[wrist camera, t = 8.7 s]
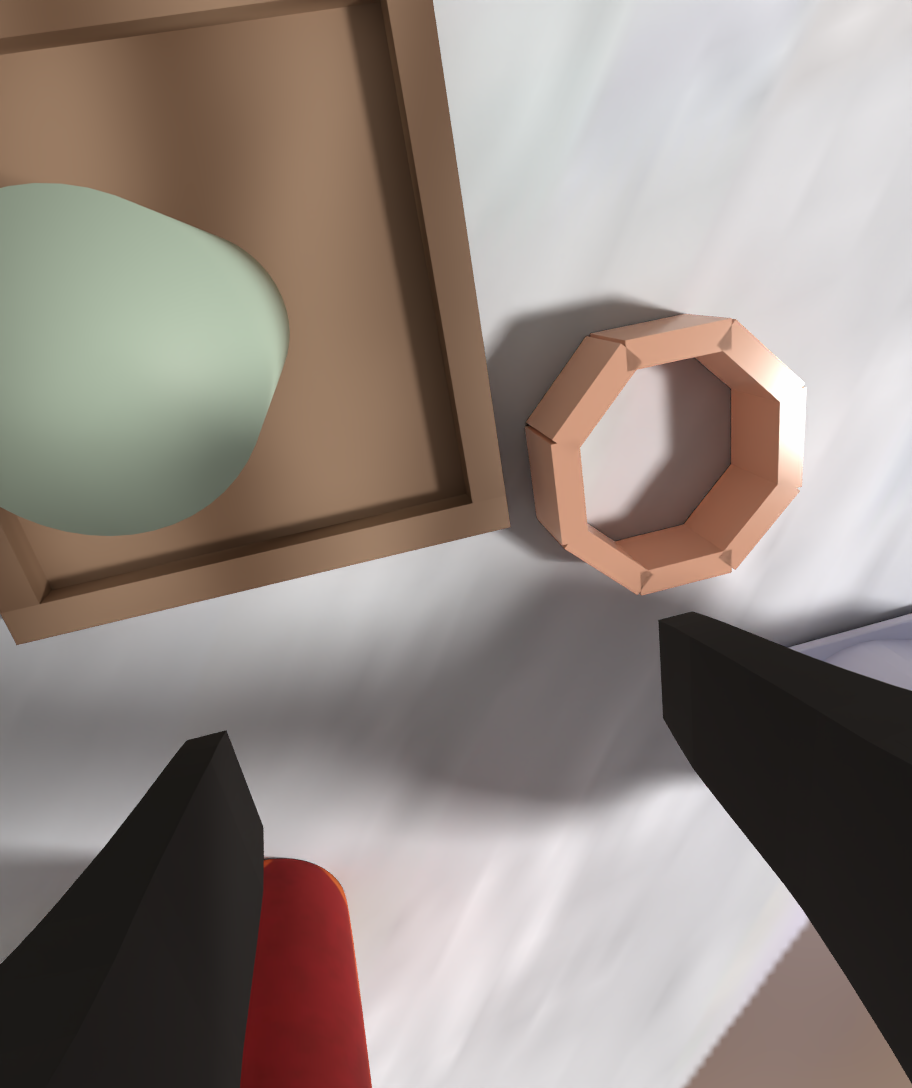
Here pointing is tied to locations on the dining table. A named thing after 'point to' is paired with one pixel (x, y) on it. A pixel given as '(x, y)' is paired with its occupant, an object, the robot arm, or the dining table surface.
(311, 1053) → the paper cup
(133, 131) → the serving tray
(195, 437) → the green pin
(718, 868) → the dining table surface
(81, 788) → the dining table surface
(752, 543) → the orange octagonal ring
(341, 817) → the dining table surface
